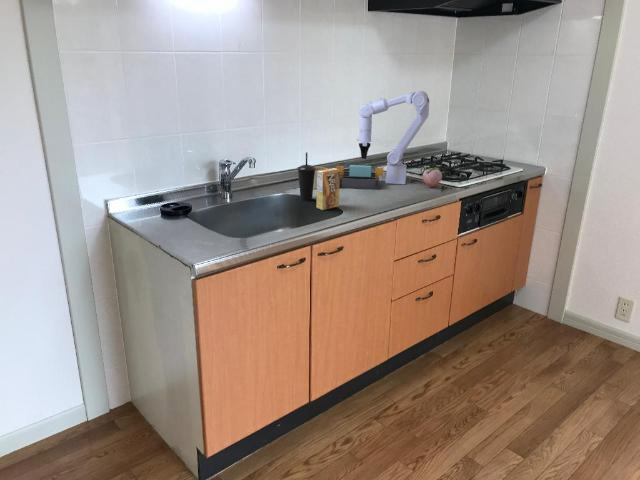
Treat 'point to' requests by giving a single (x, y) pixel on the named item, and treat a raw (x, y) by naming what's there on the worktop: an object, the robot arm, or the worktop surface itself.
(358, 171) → the block
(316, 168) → the flower pot
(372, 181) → the rack
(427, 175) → the decorative fruit
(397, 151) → the robot arm
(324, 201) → the candy box
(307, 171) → the drinking cup
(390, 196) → the worktop surface
